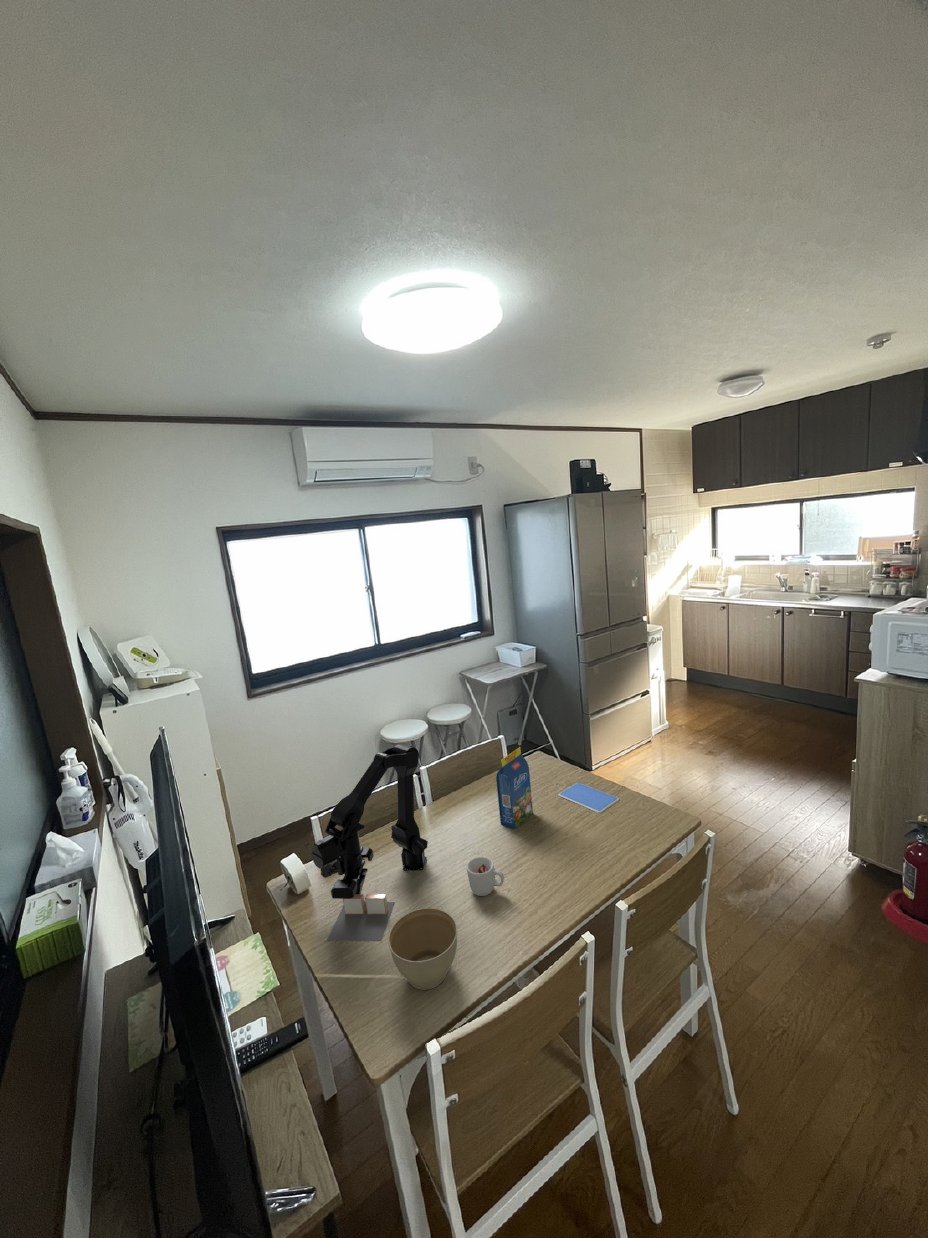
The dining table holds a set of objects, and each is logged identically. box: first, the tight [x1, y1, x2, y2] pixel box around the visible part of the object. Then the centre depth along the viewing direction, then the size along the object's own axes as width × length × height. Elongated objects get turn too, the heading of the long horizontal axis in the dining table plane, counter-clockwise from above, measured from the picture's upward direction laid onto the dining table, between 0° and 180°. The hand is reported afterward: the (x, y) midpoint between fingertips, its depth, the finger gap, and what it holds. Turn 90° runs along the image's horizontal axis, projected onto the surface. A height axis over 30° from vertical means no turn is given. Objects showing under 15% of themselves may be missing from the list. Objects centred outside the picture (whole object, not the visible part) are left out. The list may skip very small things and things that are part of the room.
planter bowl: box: [388, 907, 458, 991], centre depth 118 cm, size 16×16×11 cm
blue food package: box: [495, 746, 534, 830], centre depth 178 cm, size 6×12×25 cm, turn 141°
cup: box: [465, 856, 505, 897], centre depth 144 cm, size 11×8×8 cm
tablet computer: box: [558, 782, 620, 814], centre depth 189 cm, size 19×13×1 cm, turn 40°
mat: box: [326, 901, 396, 942], centre depth 138 cm, size 15×14×1 cm
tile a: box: [364, 893, 388, 914], centre depth 140 cm, size 6×2×5 cm, turn 83°
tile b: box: [342, 893, 366, 914], centre depth 141 cm, size 6×2×5 cm, turn 83°
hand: (357, 898), depth 143 cm, fingers closed
